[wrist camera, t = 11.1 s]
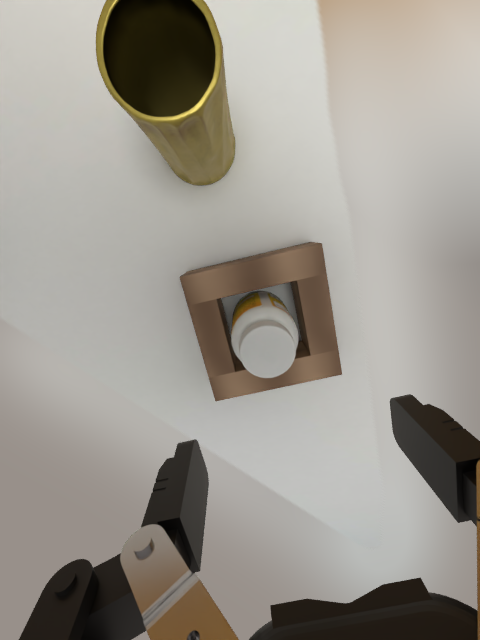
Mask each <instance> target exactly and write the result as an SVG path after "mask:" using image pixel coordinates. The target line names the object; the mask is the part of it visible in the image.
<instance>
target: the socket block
mask: <svg viewBox="0 0 480 640" xmlns="http://www.w3.org/2000/svg"><path fill="white" fill-rule="evenodd" d="M180 280H181V284H182V287H183V291H184V294H185V298H186V301H187V304H188V308H189V311H190V315H191V318H192V322H193V325H194V328H195V332H196V335H197V339H198V342H199V346H200V349H201V353H202V356H203V359H204V363H205V366H206V370H207V373H208V377H209V380H210V384H211V387H212V390H213V394H214V397H215V401H219V400H224V399H229V398H233V397H238V396H243V395H247V394H252V393H257V392H262V391H266V390H271V389H276V388H280V387H285V386H290V385H294V384H299V383H304V382H308V381H313V380H318V379H323V378H327V377H332V376H337V375H341V374H342V371H341V364H340V358H339V351H338V345H337V338H336V332H335V325H334V319H333V312H332V306H331V299H330V293H329V287H328V280H327V274H326V267H325V261H324V254H323V248H322V243H315V242H308V243H304V244H300V245H296V246H292V247H287V248H283V249H279V250H275V251H271V252H267V253H262V254H258V255H254V256H250V257H246V258H242V259H237V260H233V261H229V262H225V263H221V264H216V265H212V266H208V267H204V268H200V269H196V270H191V271H187V272H186V273H185V274H183V275H182V276H181V277H180ZM288 282H291V286H292V292H293V297H294V302H295V308H296V313H297V318H298V324H299V329H300V334H301V339H302V341H298V345H297V348H296V355H295V359H294V362H293V364H292V365H291V367H290V368H289V369H288V370H287V371H286V372H284V373H283V374H281V375H279V376H277V377H273V378H261V377H258V376H255V375H253V374H251V373H250V372H249V371H247V370H246V368H245V367H244V366H243V364H242V362H241V361H240V360H239V358H238V357H237V356H236V355H235V352H234V350H233V347H232V342H231V335H230V331H229V328H228V324H227V320H226V316H225V312H224V308H223V304H222V300H221V298H223V297H227V296H232V295H236V294H240V293H245V292H249V291H253V290H257V289H262V288H266V287H270V286H275V285H279V284H283V283H288Z"/></svg>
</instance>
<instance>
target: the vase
mask: <svg viewBox="0 0 480 640" xmlns="http://www.w3.org/2000/svg"><path fill="white" fill-rule="evenodd" d="M96 55H97V62H98V67H99V70H100V73H101V76H102V78H103V81H104V83H105V85H106V87H107V89H108V91H109V92H110V94H111V95H112V97H113V98H114V99H115V100H116V101H117V102H118V103H119V104H120V105H121V106H122V108H123V109H124V110H125V111H126V112H127V113H128V114H129V115H130V116H131V117H132V118H133V120H134V121H135V122H136V123H137V124H138V125H139V127H140V128H141V129H142V130H143V132H144V133H145V134H146V135H147V137H148V138H149V139H150V140H151V141H152V143H153V144H154V145H155V147H156V148H157V149H158V151H159V152H160V153H161V155H162V156H163V157H164V159H165V160H166V161H167V162H168V164H169V165H170V167H171V169H172V170H173V171H174V173H175V174H176V175H177V176H178V177H180V178H181V179H182V180H184V181H186V182H188V183H190V184H193V185H208V184H212V183H214V182H216V181H218V180H219V179H221V178H222V177H223V176H224V175H225V174H226V173H227V172H228V170H229V168H230V167H231V165H232V163H233V160H234V155H235V137H234V134H233V129H232V123H231V118H230V112H229V106H228V99H227V91H226V80H225V69H224V59H223V46H222V41H221V38H220V35H219V32H218V29H217V26H216V23H215V20H214V18H213V15H212V13H211V11H210V9H209V7H208V6H207V4H206V3H205V2H204V0H107V1H106V2H105V4H104V7H103V9H102V12H101V15H100V18H99V21H98V25H97V32H96Z"/></svg>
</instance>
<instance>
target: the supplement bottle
mask: <svg viewBox="0 0 480 640" xmlns="http://www.w3.org/2000/svg"><path fill="white" fill-rule="evenodd" d="M231 342H232V347H233V350H234V352H235V354H236V356H237V357H238V358H239V360H240V361H241V362H242V364H243V366H244V367H245V368H246V370H247V371H249V372H250V373H251V374H253V375H255V376H258V377H261V378H273V377H277V376H279V375H281V374H283V373H284V372H286V371H287V370H288V369H289V368H290V367H291V365H292V364H293V362H294V359H295V355H296V348H297V345H298V330H297V326H296V324H295V322H294V320H293V318H292V317H291V315H290V314H289V312H288V310H287V309H286V307H285V305H284V304H283V302H282V301H281V300H280V299H279V298H278V297H277V296H275V295H274V294H272V293H269V292H265V291H257V292H252V293H250V294H248V295H246V296H245V297H243V298H242V299H241V300H240V301H239V302H238V304H237V305H236V307H235V309H234V313H233V322H232V332H231Z"/></svg>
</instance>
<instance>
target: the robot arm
mask: <svg viewBox="0 0 480 640" xmlns="http://www.w3.org/2000/svg"><path fill="white" fill-rule="evenodd" d="M390 409H391V418H392V427H393V434H394V437H395V440H396V442H397V443H398V445H399V447H400V448H401V450H402V451H403V452H404V453H405V455H406V456H407V457H408V459H409V460H410V461H411V462H412V464H413V465H414V466H415V468H416V469H417V470H418V472H419V473H420V474H421V475H422V477H423V478H424V479H425V481H426V482H427V483H428V485H429V486H430V487H431V488H432V490H433V491H434V492H435V493H436V495H437V496H438V497H439V499H440V500H441V501H442V502H443V504H444V505H445V507H446V508H447V509H448V510H449V512H450V513H451V514H452V515H453V517H454V518H455V519H456V521H457V522H458V523H459V522H464V521H469V520H472V522H473V523H474V524H475V525H476V526H477V596H478V598H477V603H478V611H477V610H475V609H474V608H472V607H470V606H468V605H466V604H464V603H462V602H460V601H458V600H455V599H453V598H450V597H447V596H443V595H440V594H435V593H429V592H428V591H427V589H426V587H425V585H424V583H423V582H422V580H421V578H416V579H411V580H406V581H400V582H394V583H389V584H384V585H381V586H380V587H378V588H376V589H374V590H372V591H371V592H369V593H367V594H365V595H364V596H362V597H360V598H358V599H356V600H355V601H353V602H351V603H346V604H345V603H336V602H328V601H320V600H312V599H303V600H297V601H293V602H287V603H281V604H276V605H271V616H272V621H270V622H268V623H267V624H265V625H264V626H263V627H262V628H260V629H259V630H258V631H257V632H256V633H255V634H254V635H253V636H252V637H251V638H250V639H249V640H480V441H479V440H478V439H476V438H475V437H474V436H473V435H472V434H470V433H469V432H468V431H467V430H466V429H463V427H462V426H461V425H460V424H459V423H458V422H456V421H454V419H453V418H451V417H450V416H449V415H448V414H447V413H446V412H444V411H443V410H441V409H439V408H437V407H434V406H432V405H430V404H427V405H422V404H421V403H420V402H419V401H418V400H417V399H416V398H415V397H414V396H413V395H405V396H400V397H395V398H391V400H390ZM208 485H209V482H208V473H207V469H206V465H205V462H204V459H203V456H202V453H201V450H200V447H199V444H198V441H197V440H191V441H187V442H182V443H178V445H177V448H176V452H175V456H174V458H169V459H167V460H166V461H165V462H164V464H163V465H162V466H161V468H160V469H159V472H158V475H157V478H156V483H155V484H154V488H153V493H152V494H151V498H150V500H149V503H148V507H147V510H146V513H145V516H144V519H143V523H142V526H141V528H140V529H139V530H137V531H136V532H135V533H133V534H132V535H131V536H130V538H129V539H128V540H127V541H126V543H125V544H124V546H123V548H122V551H121V553H120V554H119V555H117V556H115V557H113V558H112V559H110V560H108V561H106V562H104V563H102V564H100V565H98V566H96V567H94V568H93V567H92V565H91V563H90V562H89V561H88V560H85V559H79V560H75V561H73V562H71V563H69V564H67V565H65V566H64V567H62V568H61V569H60V570H59V571H58V572H57V573H56V574H55V575H54V576H53V577H52V578H51V579H50V580H49V582H48V583H47V585H46V586H45V588H44V590H43V591H42V593H41V596H40V598H39V600H38V602H37V604H36V606H35V608H34V610H33V612H32V614H31V616H30V618H29V620H28V622H27V624H26V626H25V628H24V631H23V632H22V634H21V637H20V639H19V640H131V639H133V638H135V637H136V636H138V635H139V634H141V633H143V632H145V631H146V630H147V633H148V635H149V638H150V640H239V639H238V637H237V636H236V634H235V633H234V631H233V630H232V629H231V627H230V625H229V624H228V622H227V620H226V619H225V617H224V616H223V614H222V613H221V611H220V610H219V608H218V607H217V605H216V604H215V602H214V600H213V599H212V597H211V596H210V594H209V593H208V592H207V590H206V588H205V587H204V585H203V583H202V582H201V580H200V579H199V577H198V576H197V575H196V574H195V572H198V571H200V565H201V556H202V546H203V536H204V525H205V515H206V505H207V495H208Z"/></svg>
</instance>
